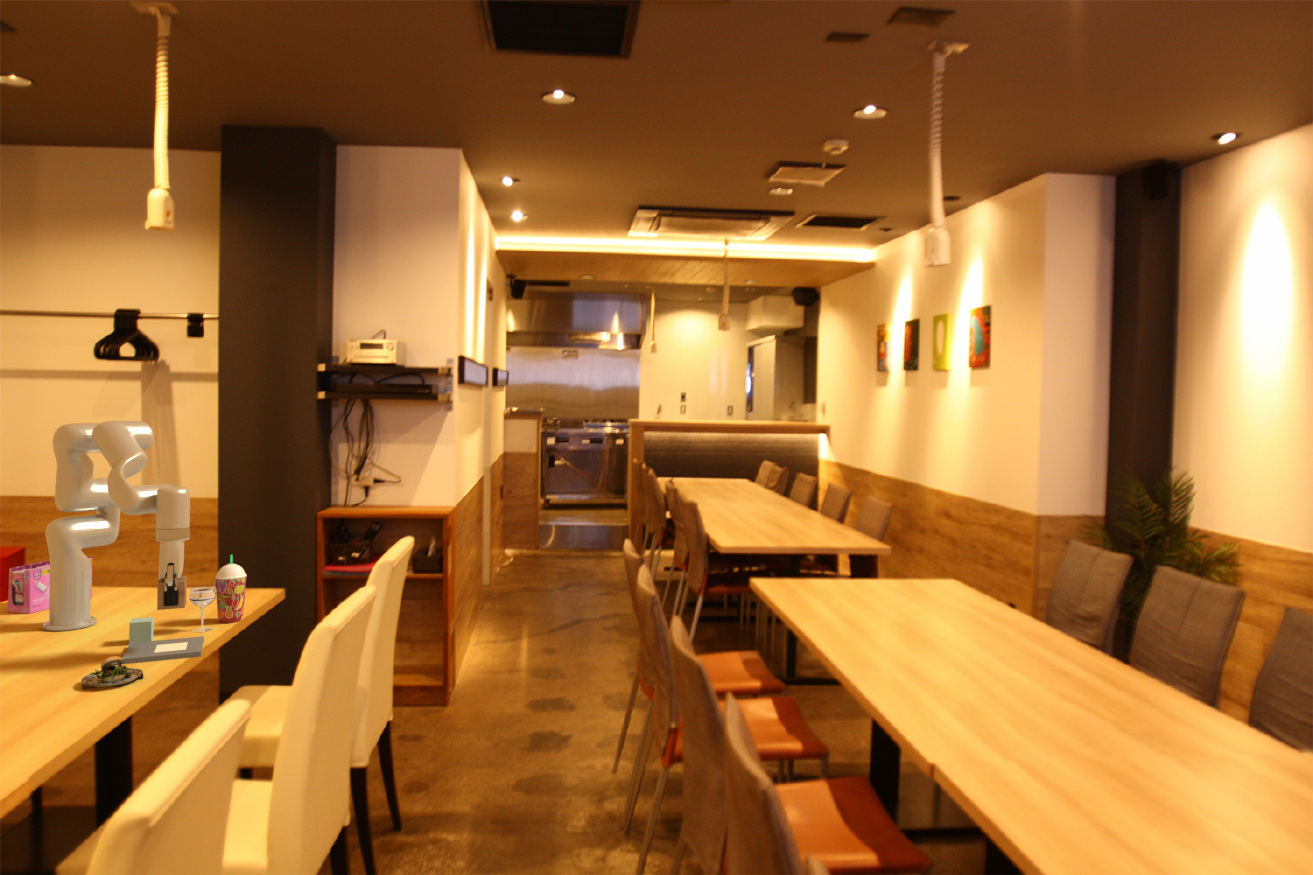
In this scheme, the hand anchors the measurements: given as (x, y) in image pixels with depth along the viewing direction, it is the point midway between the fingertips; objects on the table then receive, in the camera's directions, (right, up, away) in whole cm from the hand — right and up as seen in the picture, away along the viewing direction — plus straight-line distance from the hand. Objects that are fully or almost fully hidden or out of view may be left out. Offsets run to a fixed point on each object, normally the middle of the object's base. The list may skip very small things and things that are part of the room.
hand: (172, 602), depth 203 cm
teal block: (-14, -13, +9) cm, 21 cm away
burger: (0, -14, -22) cm, 27 cm away
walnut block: (0, -1, 0) cm, 1 cm away
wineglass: (-5, -13, +21) cm, 25 cm away
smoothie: (-2, -12, +32) cm, 34 cm away
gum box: (-66, -10, +44) cm, 80 cm away
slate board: (-2, -13, +1) cm, 13 cm away
